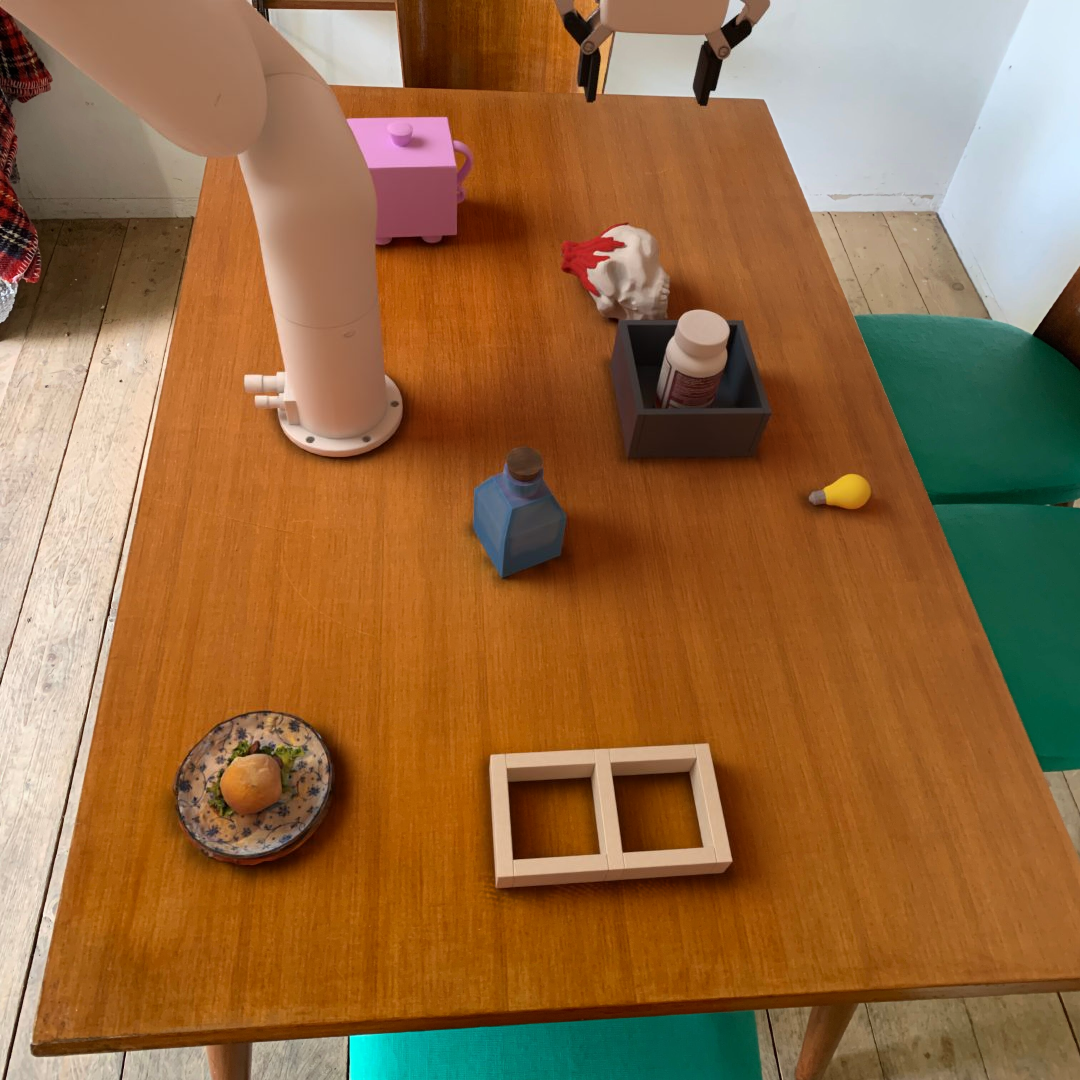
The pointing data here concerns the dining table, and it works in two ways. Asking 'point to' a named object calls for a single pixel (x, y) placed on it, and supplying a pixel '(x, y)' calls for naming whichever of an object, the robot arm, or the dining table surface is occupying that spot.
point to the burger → (254, 787)
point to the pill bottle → (693, 362)
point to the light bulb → (844, 492)
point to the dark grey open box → (686, 430)
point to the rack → (609, 815)
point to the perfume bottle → (518, 515)
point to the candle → (621, 272)
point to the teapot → (413, 175)
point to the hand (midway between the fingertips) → (644, 95)
